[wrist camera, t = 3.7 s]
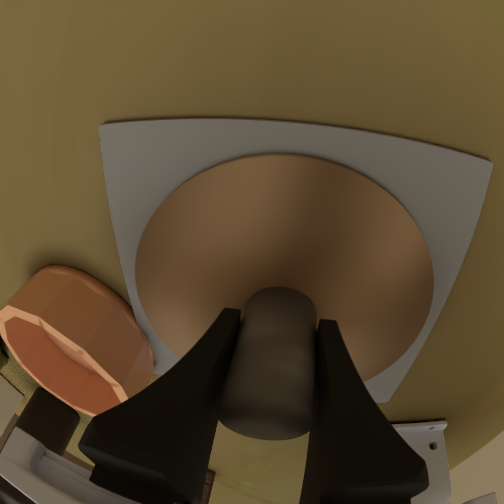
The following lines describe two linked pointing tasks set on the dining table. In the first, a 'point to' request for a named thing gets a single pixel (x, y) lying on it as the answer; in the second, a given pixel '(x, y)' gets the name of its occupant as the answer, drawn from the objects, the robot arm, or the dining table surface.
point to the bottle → (42, 433)
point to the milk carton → (8, 402)
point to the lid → (284, 278)
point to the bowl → (77, 339)
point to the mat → (302, 142)
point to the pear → (3, 359)
